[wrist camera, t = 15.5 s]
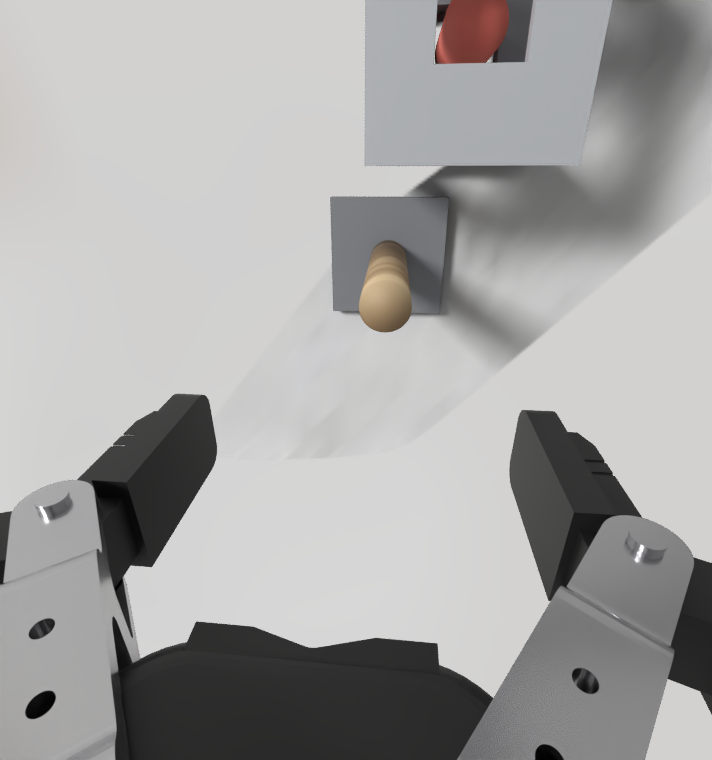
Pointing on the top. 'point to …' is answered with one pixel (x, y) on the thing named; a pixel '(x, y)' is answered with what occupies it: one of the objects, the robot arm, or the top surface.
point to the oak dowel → (386, 289)
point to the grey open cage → (481, 86)
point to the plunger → (472, 31)
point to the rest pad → (388, 222)
